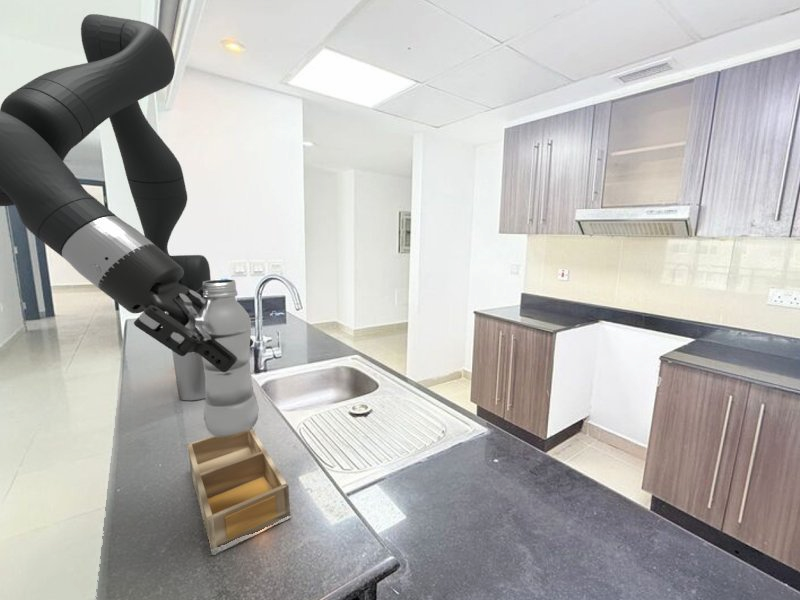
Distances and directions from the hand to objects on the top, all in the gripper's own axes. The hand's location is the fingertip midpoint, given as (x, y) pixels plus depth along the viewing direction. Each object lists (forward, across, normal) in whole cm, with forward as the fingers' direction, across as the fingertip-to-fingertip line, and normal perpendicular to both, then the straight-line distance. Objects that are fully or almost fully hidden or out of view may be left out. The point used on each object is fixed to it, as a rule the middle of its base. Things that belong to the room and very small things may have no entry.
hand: (240, 356), depth 45 cm
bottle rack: (+13, +4, +19) cm, 23 cm away
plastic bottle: (+6, 0, +9) cm, 11 cm away
